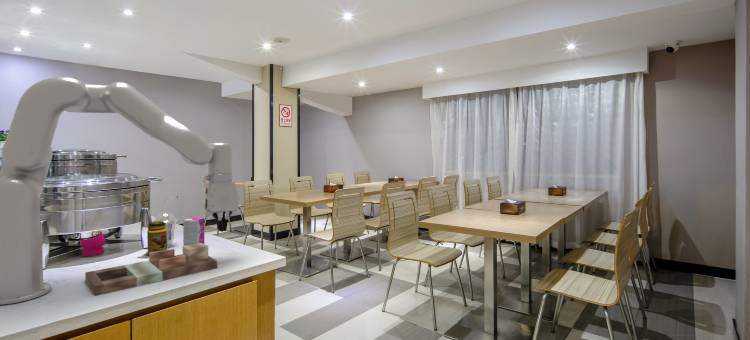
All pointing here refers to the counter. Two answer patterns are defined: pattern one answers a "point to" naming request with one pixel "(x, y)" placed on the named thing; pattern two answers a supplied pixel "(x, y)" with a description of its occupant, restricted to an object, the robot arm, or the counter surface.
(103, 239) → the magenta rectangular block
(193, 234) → the supplement box
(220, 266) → the counter surface
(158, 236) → the condiment
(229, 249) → the counter surface
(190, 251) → the maple block
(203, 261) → the board
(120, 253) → the counter surface
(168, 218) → the cup with straw
